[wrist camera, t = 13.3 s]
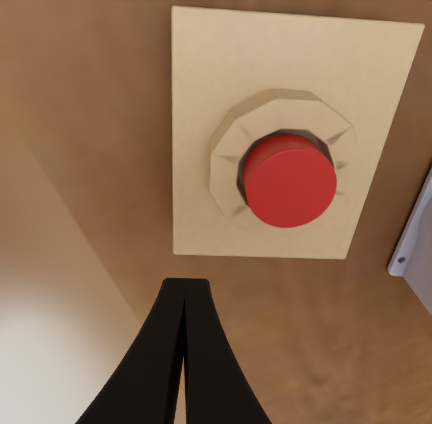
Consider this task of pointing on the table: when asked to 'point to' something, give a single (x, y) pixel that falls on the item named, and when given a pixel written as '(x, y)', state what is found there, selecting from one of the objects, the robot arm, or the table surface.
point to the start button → (288, 181)
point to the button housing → (278, 119)
